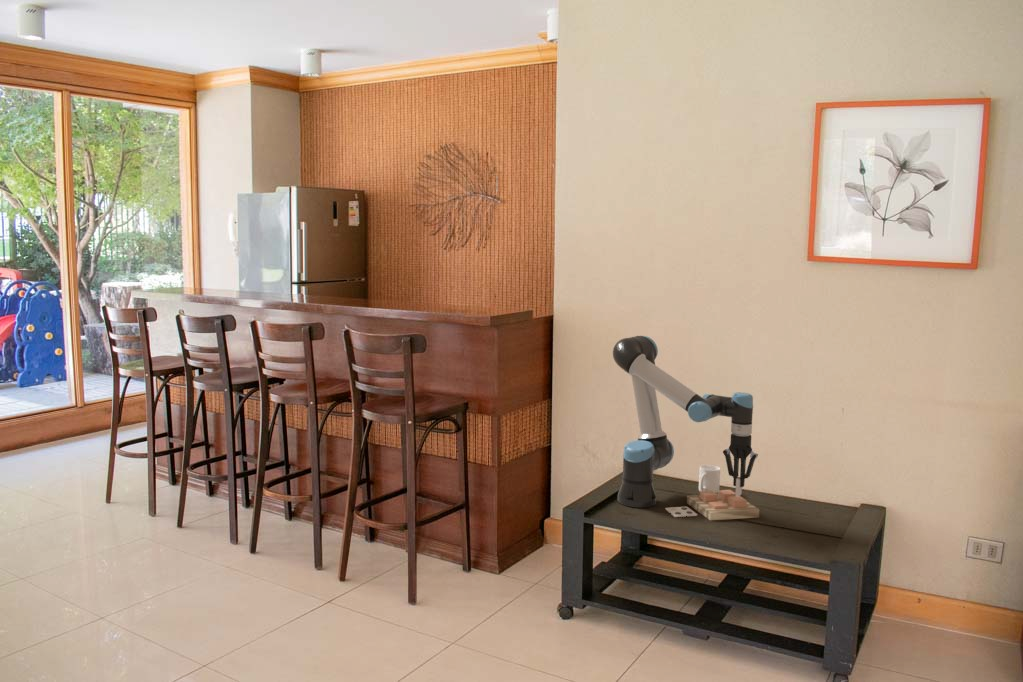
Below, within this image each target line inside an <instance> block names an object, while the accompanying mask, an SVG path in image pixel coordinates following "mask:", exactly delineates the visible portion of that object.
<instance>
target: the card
mask: <svg viewBox="0 0 1023 682" xmlns="http://www.w3.org/2000/svg"><path fill="white" fill-rule="evenodd" d="M664 510H666V512H668V513H669V514H670V513H671V514H670V515H671V516H673V517H674V518H682V517H683V518H686V516H687V517H697V516H698V513H696V512H695V511H693V510H692V509H691V508H690V507H688V506H676V507H675V506H674V507H671V506H670V507H665V509H664Z"/></svg>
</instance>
